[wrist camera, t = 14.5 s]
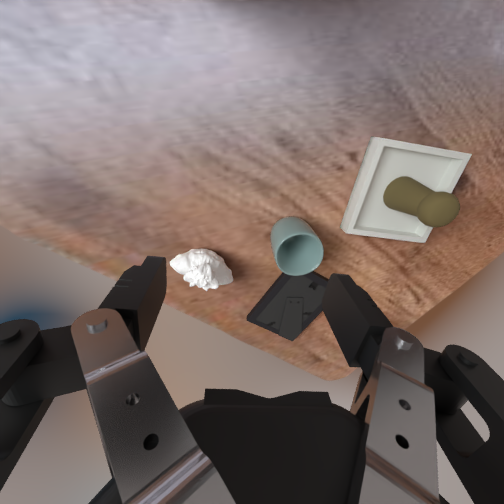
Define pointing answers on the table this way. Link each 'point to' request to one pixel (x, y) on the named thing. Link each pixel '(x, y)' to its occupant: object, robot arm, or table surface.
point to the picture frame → (290, 304)
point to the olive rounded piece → (421, 202)
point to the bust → (202, 268)
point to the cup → (295, 246)
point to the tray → (385, 171)
